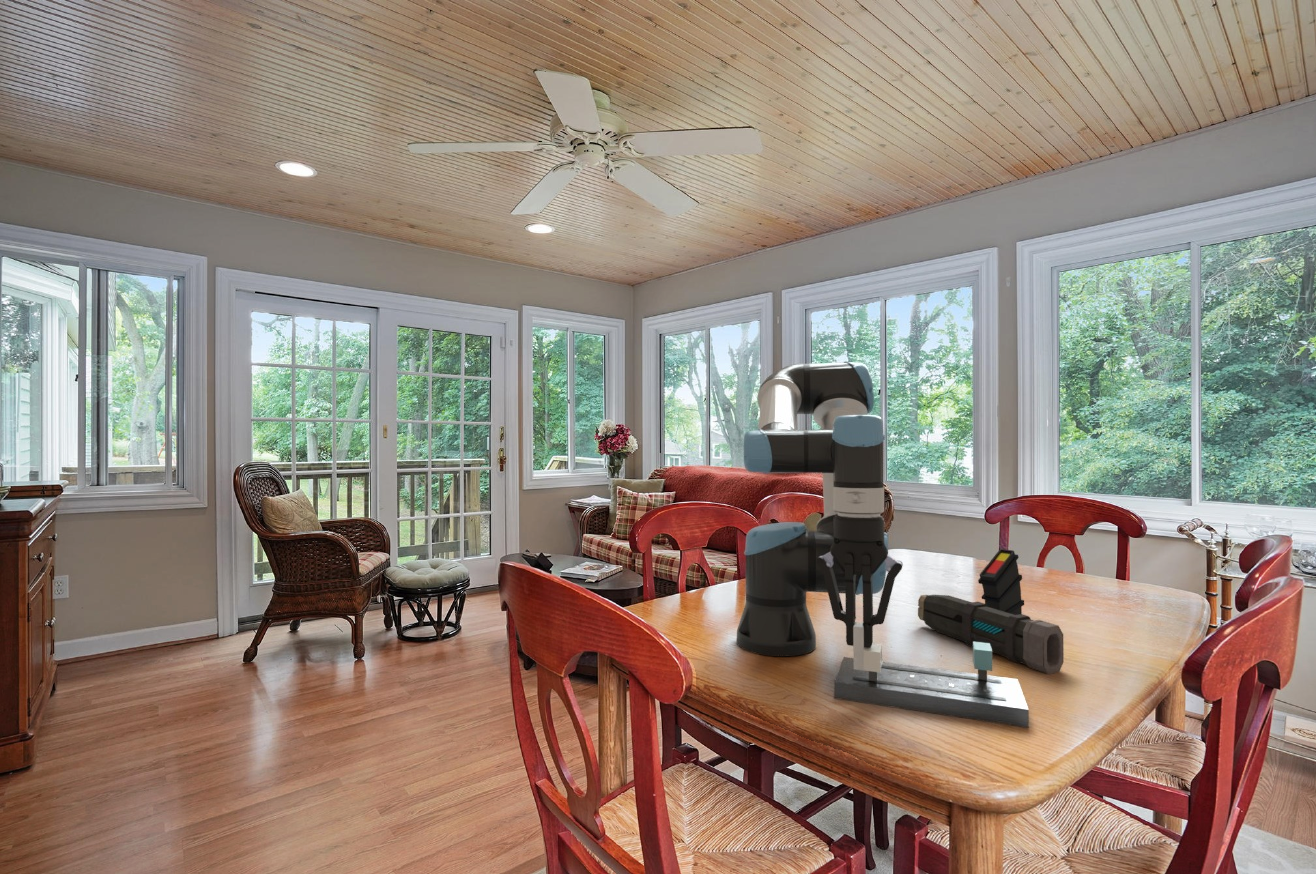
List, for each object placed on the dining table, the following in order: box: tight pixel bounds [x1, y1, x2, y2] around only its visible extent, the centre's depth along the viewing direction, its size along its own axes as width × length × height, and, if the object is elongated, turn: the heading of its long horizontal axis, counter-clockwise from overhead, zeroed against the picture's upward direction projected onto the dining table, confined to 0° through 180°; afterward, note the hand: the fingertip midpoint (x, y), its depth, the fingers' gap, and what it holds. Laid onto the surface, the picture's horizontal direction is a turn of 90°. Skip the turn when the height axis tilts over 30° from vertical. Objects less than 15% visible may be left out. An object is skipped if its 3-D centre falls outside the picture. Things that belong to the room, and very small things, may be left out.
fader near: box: [864, 642, 883, 681], centre depth 97 cm, size 2×4×5 cm, turn 157°
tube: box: [917, 594, 1065, 675], centre depth 120 cm, size 11×7×30 cm
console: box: [833, 656, 1030, 729], centre depth 97 cm, size 26×12×3 cm, turn 67°
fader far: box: [972, 642, 993, 680], centre depth 97 cm, size 2×4×5 cm, turn 157°
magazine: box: [977, 548, 1025, 615], centre depth 138 cm, size 4×13×15 cm, turn 127°
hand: (859, 666), depth 97 cm, fingers closed
